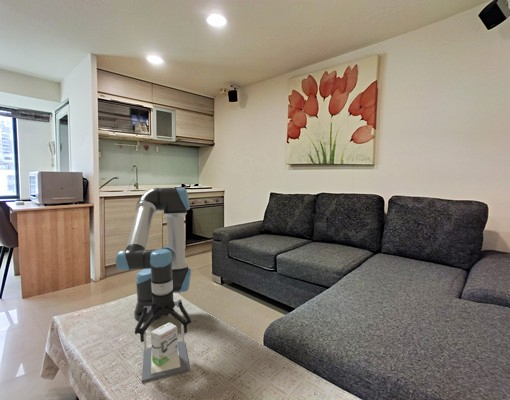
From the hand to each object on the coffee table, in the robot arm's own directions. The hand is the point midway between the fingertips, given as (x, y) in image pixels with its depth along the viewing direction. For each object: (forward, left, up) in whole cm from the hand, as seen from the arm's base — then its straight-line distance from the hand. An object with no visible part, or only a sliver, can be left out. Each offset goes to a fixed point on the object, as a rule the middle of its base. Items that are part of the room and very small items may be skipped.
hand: (164, 345), depth 103 cm
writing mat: (0, 0, -6) cm, 6 cm away
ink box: (0, 0, -5) cm, 5 cm away
